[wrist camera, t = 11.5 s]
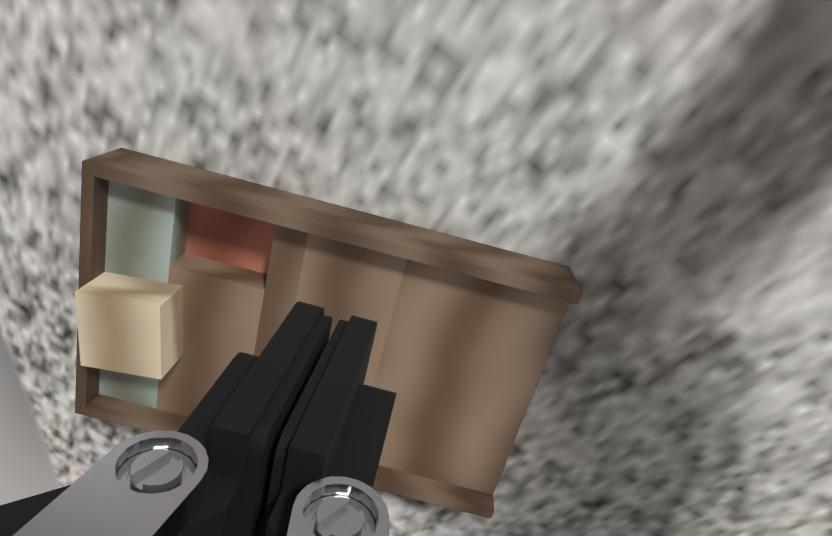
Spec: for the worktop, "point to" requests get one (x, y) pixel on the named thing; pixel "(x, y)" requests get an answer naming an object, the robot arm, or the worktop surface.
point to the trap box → (327, 312)
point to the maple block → (130, 324)
